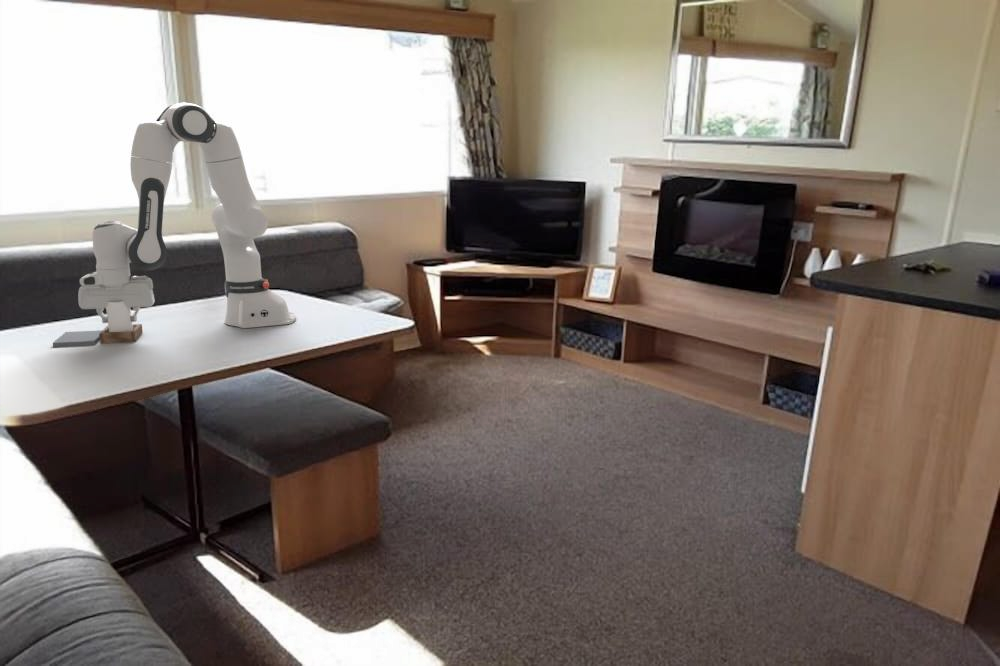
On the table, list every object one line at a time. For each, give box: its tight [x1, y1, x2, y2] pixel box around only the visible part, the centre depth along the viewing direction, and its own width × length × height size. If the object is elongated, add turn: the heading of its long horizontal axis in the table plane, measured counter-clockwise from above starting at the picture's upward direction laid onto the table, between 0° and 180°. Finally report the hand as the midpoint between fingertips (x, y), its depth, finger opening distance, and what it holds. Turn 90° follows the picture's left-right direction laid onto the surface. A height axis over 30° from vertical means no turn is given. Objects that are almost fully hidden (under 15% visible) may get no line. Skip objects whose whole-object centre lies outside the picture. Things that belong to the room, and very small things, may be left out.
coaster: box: [52, 329, 103, 348], centre depth 220 cm, size 11×12×1 cm
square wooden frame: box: [99, 323, 144, 344], centre depth 222 cm, size 10×10×3 cm
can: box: [105, 301, 133, 332], centre depth 221 cm, size 6×6×12 cm
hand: (119, 321), depth 221 cm, fingers closed on can, 6 cm apart
